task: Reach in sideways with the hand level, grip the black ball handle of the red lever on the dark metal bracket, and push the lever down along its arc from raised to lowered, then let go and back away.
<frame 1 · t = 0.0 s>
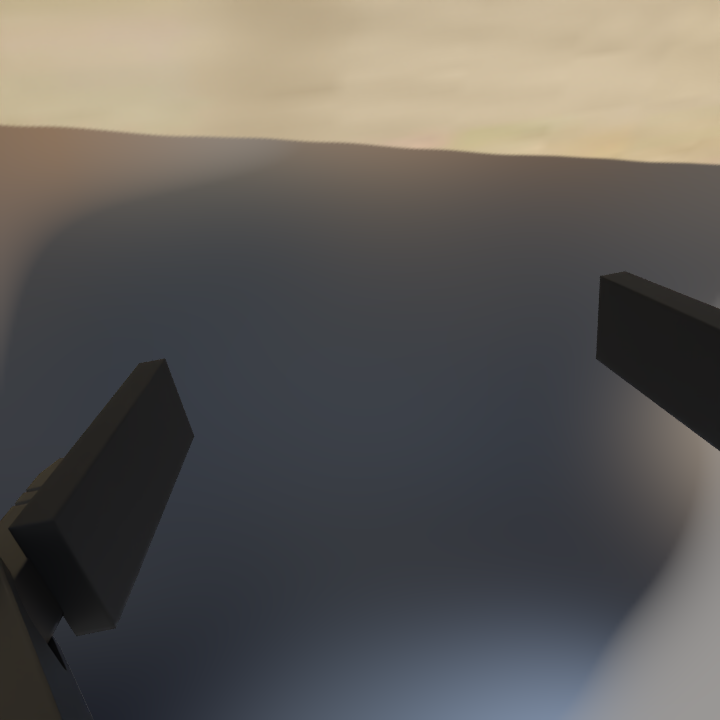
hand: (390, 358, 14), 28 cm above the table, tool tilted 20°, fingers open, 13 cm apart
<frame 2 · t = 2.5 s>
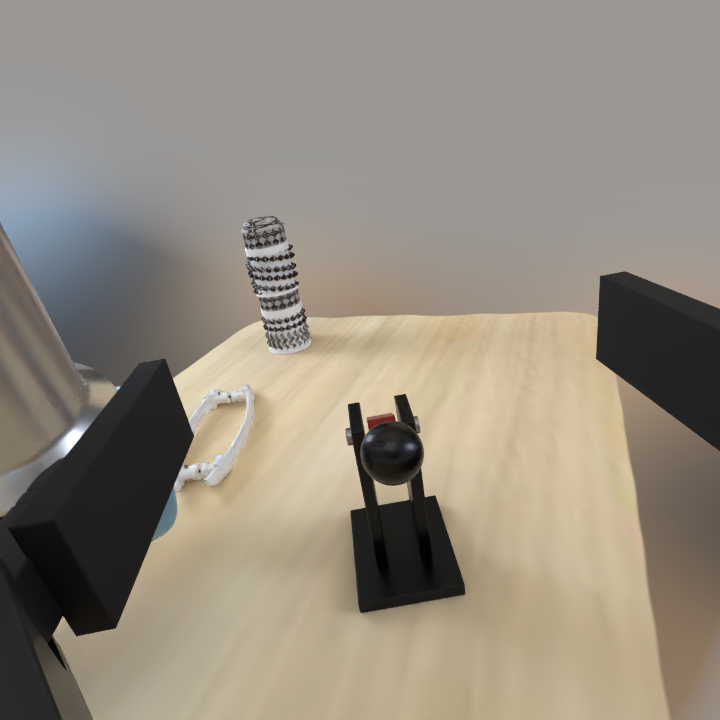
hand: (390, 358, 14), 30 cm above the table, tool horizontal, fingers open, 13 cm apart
door handle: (219, 438, 69), on the table
lever: (386, 440, 33), point 17 cm above the table, hinge at 28.0°
decorative candle: (291, 346, 96), on the table
bracket: (402, 552, 45), on the table
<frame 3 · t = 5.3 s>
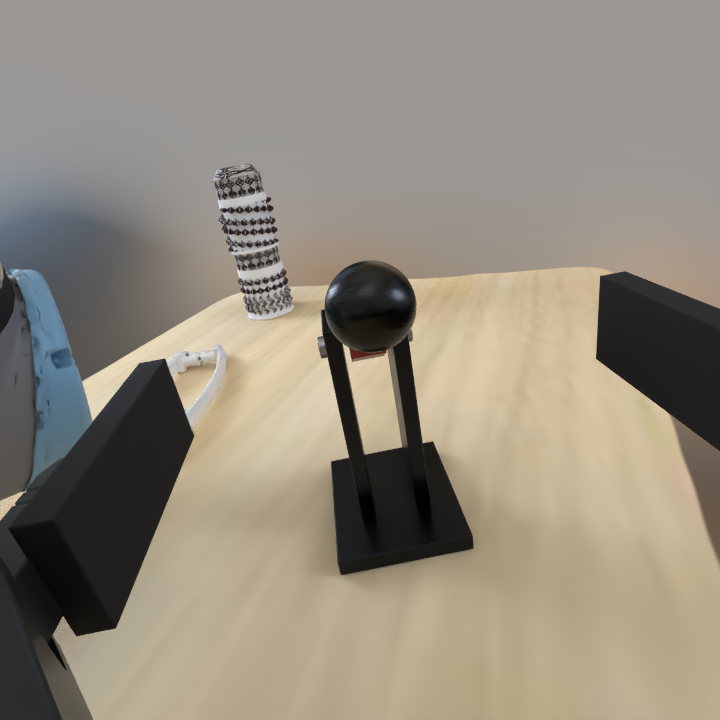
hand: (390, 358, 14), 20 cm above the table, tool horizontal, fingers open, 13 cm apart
door handle: (185, 400, 60), on the table
lever: (367, 326, 24), point 17 cm above the table, hinge at 28.0°
decorative candle: (271, 312, 87), on the table
bracket: (394, 505, 37), on the table
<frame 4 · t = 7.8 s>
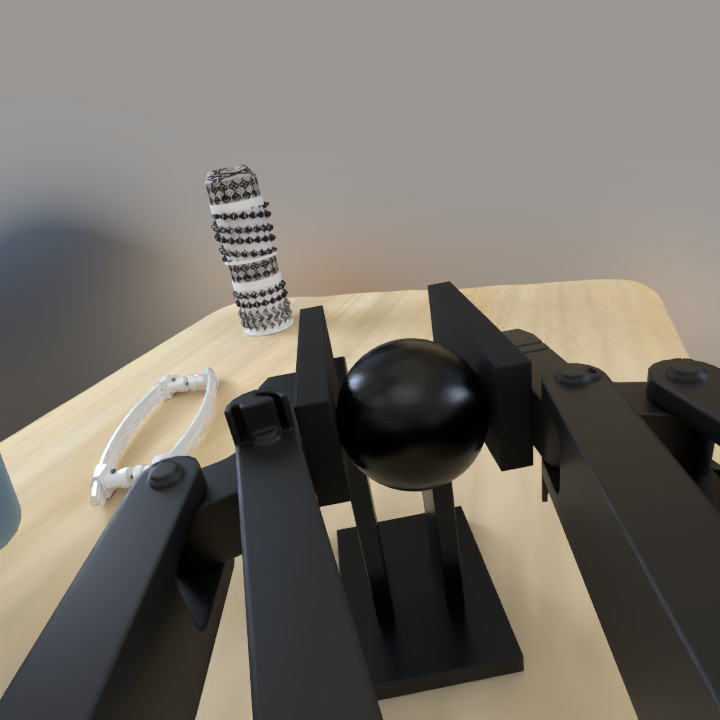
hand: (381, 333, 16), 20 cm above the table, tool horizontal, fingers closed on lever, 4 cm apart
door handle: (169, 435, 53), on the table
lever: (393, 405, 17), point 17 cm above the table, hinge at 28.0°, touching gripper
decorative candle: (269, 327, 80), on the table
bracket: (416, 595, 29), on the table
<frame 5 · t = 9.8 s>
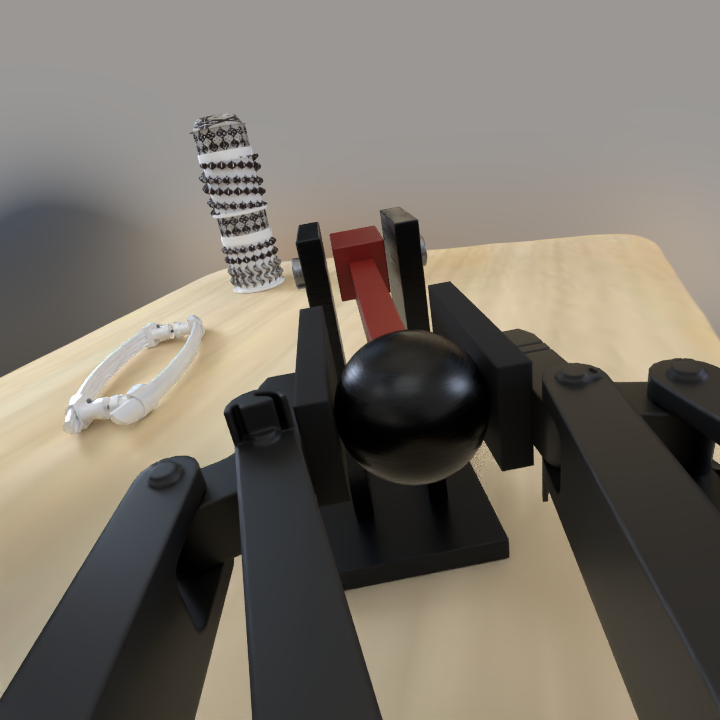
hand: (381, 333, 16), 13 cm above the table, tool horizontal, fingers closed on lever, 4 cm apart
door handle: (151, 376, 51), on the table
lever: (377, 313, 16), point 14 cm above the table, hinge at -3.4°, touching gripper
decorative candle: (260, 286, 78), on the table
bracket: (398, 498, 28), on the table
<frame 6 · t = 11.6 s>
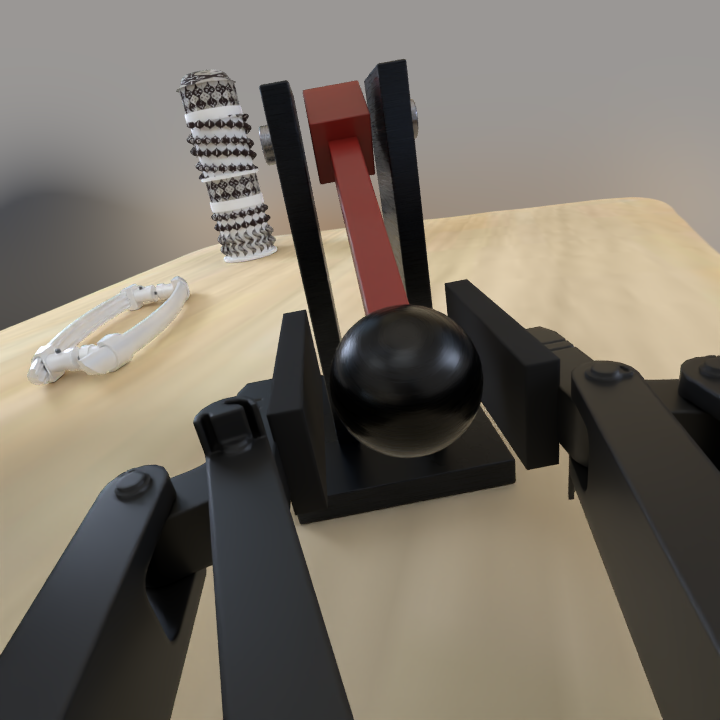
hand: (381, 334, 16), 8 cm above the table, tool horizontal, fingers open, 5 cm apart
door handle: (130, 334, 48), on the table
lever: (365, 230, 15), point 11 cm above the table, hinge at -28.1°
decorative candle: (251, 256, 75), on the table
bracket: (388, 430, 24), on the table
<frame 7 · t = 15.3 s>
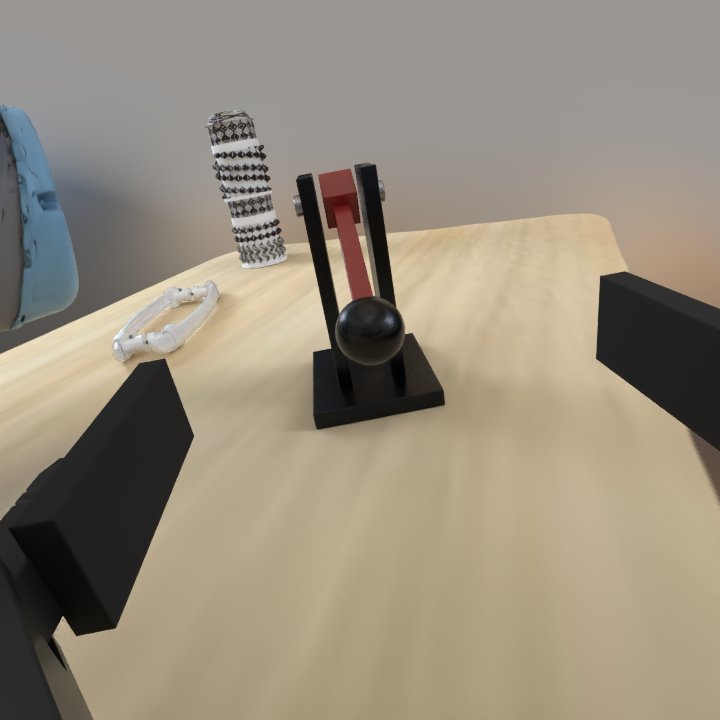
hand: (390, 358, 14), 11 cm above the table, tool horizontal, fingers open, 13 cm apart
door handle: (176, 326, 61), on the table
lever: (353, 258, 28), point 11 cm above the table, hinge at -28.1°
decorative candle: (265, 262, 88), on the table
bracket: (371, 381, 38), on the table
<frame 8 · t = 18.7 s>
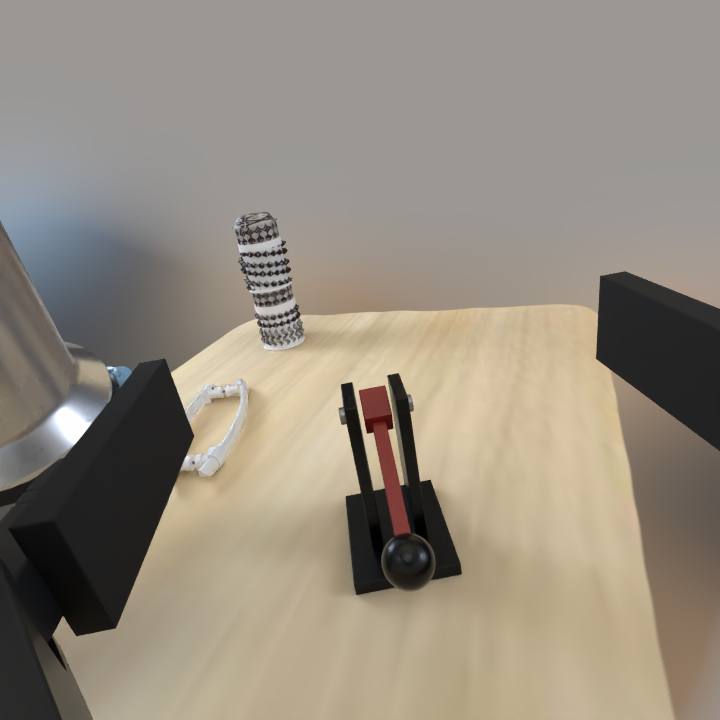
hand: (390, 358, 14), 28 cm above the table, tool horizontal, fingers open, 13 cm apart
door handle: (213, 432, 68), on the table
lever: (391, 480, 35), point 11 cm above the table, hinge at -28.1°
decorative candle: (285, 342, 95), on the table
bracket: (398, 535, 45), on the table
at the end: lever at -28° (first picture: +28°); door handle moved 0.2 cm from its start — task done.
